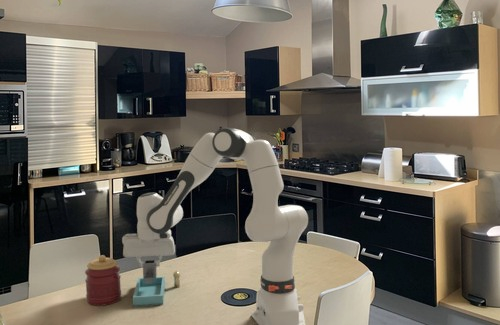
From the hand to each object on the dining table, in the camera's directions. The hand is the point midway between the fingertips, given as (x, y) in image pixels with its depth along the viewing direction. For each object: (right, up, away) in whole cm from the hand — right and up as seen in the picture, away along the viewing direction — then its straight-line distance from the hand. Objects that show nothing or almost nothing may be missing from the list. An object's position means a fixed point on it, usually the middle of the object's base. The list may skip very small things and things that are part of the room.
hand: (149, 266), depth 183 cm
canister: (-17, -12, -5) cm, 21 cm away
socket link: (0, -4, -2) cm, 5 cm away
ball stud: (+10, -10, +6) cm, 15 cm away
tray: (0, -11, -2) cm, 11 cm away
